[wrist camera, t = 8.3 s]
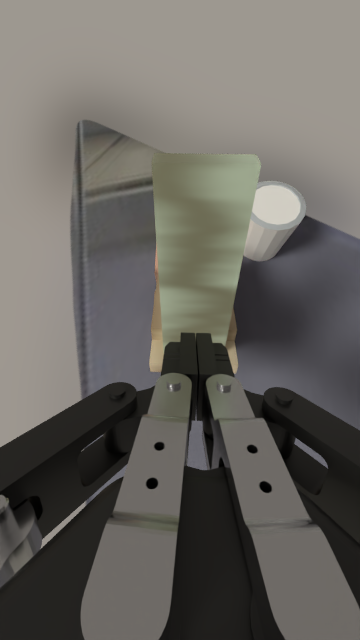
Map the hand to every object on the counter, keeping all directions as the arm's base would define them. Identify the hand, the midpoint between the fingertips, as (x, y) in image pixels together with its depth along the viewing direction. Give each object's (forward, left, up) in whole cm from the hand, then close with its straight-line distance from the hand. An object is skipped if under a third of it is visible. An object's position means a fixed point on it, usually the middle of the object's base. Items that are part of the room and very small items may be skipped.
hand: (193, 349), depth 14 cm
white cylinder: (-9, -19, -17) cm, 27 cm away
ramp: (0, -6, -8) cm, 10 cm away
